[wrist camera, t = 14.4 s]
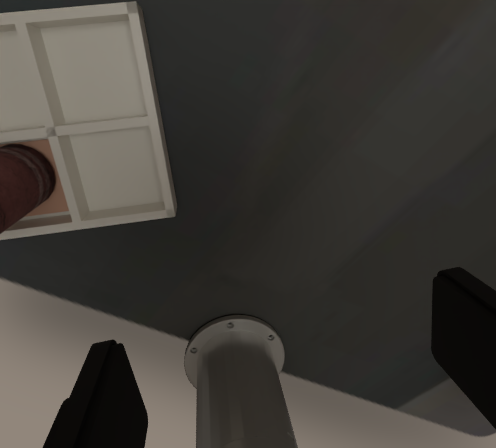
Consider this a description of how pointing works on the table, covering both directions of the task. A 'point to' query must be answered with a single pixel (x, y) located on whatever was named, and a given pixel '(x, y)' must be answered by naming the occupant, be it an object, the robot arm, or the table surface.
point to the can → (22, 182)
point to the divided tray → (86, 115)
